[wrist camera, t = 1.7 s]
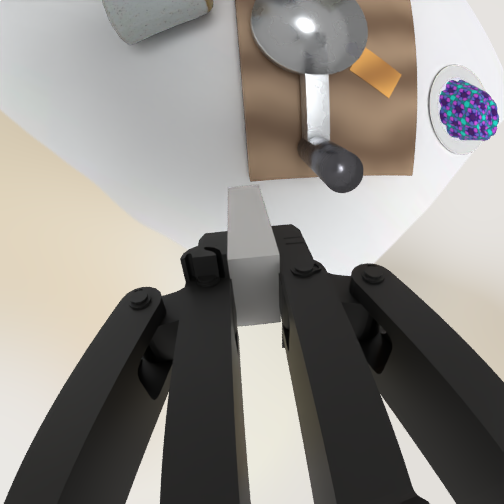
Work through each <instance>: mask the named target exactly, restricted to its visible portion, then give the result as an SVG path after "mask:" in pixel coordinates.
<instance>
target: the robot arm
mask: <svg viewBox="0 0 504 504" xmlns="http://www.w3.org/2000/svg"><path fill="white" fill-rule="evenodd" d="M180 260H181V264H182V268H183V272H184V277H185V280H186V284H185V287H184V288H183V289H181V290H179V291H177V292H174V293H171V294H168V295H165V296H161V293H160V292H159V291H158V290H157V289H156V288H152V287H141V288H137V289H134V290H133V291H131V292H129V293H127V294H126V296H124V297H123V298H122V300H121V301H120V302H119V304H118V305H117V307H116V308H115V309H114V311H113V312H112V314H111V315H110V316H109V318H108V319H107V321H106V322H105V324H104V325H103V326H102V328H101V329H100V331H99V332H98V334H97V335H96V337H95V338H94V340H93V341H92V343H91V344H90V346H89V347H88V349H87V350H86V352H85V353H84V355H83V356H82V358H81V359H80V361H79V362H78V364H77V366H76V367H75V369H74V370H73V372H72V373H71V375H70V377H69V378H68V380H67V382H66V383H65V385H64V386H63V388H62V390H61V391H60V394H59V395H58V397H57V398H56V400H55V402H54V403H53V405H52V407H51V409H50V410H49V412H48V414H47V416H46V417H45V419H44V421H43V423H42V425H41V426H40V428H39V430H38V432H37V434H36V436H35V438H34V440H33V441H32V443H31V445H30V447H29V450H28V451H27V453H26V455H25V457H24V460H23V461H22V464H21V466H20V468H19V470H18V472H17V474H16V477H15V479H14V481H13V483H12V486H11V488H10V490H9V492H8V495H7V497H6V500H5V502H4V504H125V503H126V500H127V498H128V495H129V492H130V489H131V487H132V484H133V481H134V479H135V476H136V473H137V471H138V468H139V466H140V463H141V460H142V458H143V455H144V453H145V450H146V448H147V445H148V442H149V440H150V437H151V434H152V432H153V429H154V427H155V424H156V422H157V420H158V417H159V414H160V412H161V410H162V407H163V405H164V402H165V400H166V397H167V395H168V392H169V397H168V405H167V415H166V424H165V435H164V447H163V459H162V474H161V492H160V504H251V502H250V491H249V478H248V466H247V454H246V440H245V427H244V413H243V398H242V383H241V367H240V352H239V336H238V330H237V326H248V325H257V324H267V323H276V322H281V319H282V348H285V349H286V354H287V360H288V365H289V370H290V375H291V380H292V385H293V390H294V396H295V401H296V406H297V411H298V416H299V422H300V427H301V433H302V438H303V443H304V449H305V454H306V460H307V465H308V471H309V476H310V482H311V488H312V493H313V499H314V504H429V502H428V501H426V500H425V499H423V498H421V497H419V496H418V495H417V494H416V493H415V491H414V490H413V487H412V484H411V481H410V478H409V475H408V471H407V468H406V465H405V462H404V459H403V456H402V453H401V450H400V447H399V444H398V441H397V439H396V436H395V433H394V430H393V428H392V425H391V422H390V419H389V416H388V414H387V411H386V408H385V406H384V403H383V401H382V398H381V395H382V397H383V398H384V400H385V401H386V403H387V404H388V405H389V407H390V408H391V410H392V411H393V412H394V414H395V415H396V416H397V418H398V419H399V421H400V422H401V423H402V425H403V426H404V428H405V429H406V431H407V432H408V434H409V435H410V436H411V438H412V439H413V441H414V442H415V444H416V445H417V446H418V448H419V449H420V451H421V452H422V454H423V455H424V457H425V458H426V459H427V461H428V462H429V464H430V465H431V467H432V468H433V470H434V471H435V473H436V474H437V475H438V477H439V478H440V480H441V481H442V483H443V484H444V486H445V487H446V489H447V490H448V492H449V493H450V495H451V496H452V498H453V499H454V501H455V502H456V504H504V382H503V381H502V380H501V379H500V378H499V377H498V375H497V374H496V373H495V372H494V371H493V370H492V369H491V368H490V367H489V366H488V365H487V363H486V362H485V361H484V360H483V359H482V358H481V357H480V356H479V355H478V354H477V353H476V352H475V351H474V350H473V349H472V348H471V347H470V346H469V345H468V344H467V343H466V342H465V341H464V340H463V339H462V338H461V337H460V336H459V335H458V334H457V333H456V332H455V331H454V330H453V329H452V328H451V327H450V326H449V325H448V324H447V323H446V322H445V321H444V320H443V319H442V318H441V317H440V316H439V315H438V314H437V313H436V312H435V311H434V310H433V309H431V308H430V307H429V306H428V305H427V304H426V303H425V302H424V301H423V300H422V299H420V298H419V297H418V296H417V295H416V294H415V293H414V292H413V291H412V290H411V289H409V288H408V287H407V286H406V285H405V284H404V283H403V282H402V281H401V280H399V279H398V278H397V277H396V276H395V275H394V274H392V273H391V272H390V271H389V270H387V269H386V268H384V267H382V266H379V265H376V264H361V265H359V266H357V267H355V268H354V269H353V271H352V274H351V276H342V275H334V274H330V273H327V271H326V269H325V267H324V266H323V265H322V264H321V263H319V262H317V261H315V260H313V257H312V255H311V253H310V251H309V249H308V247H307V244H306V243H305V240H304V238H303V236H302V234H301V232H300V230H299V229H298V228H296V227H295V226H294V225H292V224H289V225H278V226H271V224H270V221H269V217H268V214H267V211H266V207H265V204H264V201H263V197H262V194H261V191H260V188H259V185H249V186H239V187H229V188H228V231H225V232H215V233H205V234H204V235H203V236H202V238H201V239H200V240H199V243H198V246H196V247H194V248H191V249H189V250H188V251H186V252H185V253H184V254H183V255H182V257H181V259H180ZM380 394H381V395H380Z"/></svg>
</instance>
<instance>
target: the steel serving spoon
mask: <svg viewBox="0 0 504 504" xmlns="http://www.w3.org/2000/svg"><path fill="white" fill-rule="evenodd" d="M250 28H251V33H252V36H253V39H254V41H255V43H256V45H257V47H258V48H259V50H260V51H261V52H262V53H263V55H264V56H265V57H266V58H267V59H269V60H270V61H271V62H272V63H274V64H275V65H276V66H278V67H280V68H282V69H284V70H286V71H288V72H291V73H295V74H299V75H300V90H301V112H302V138H301V140H300V141H299V143H298V147H297V151H298V155H299V157H300V158H301V159H302V160H303V161H304V162H305V163H306V164H307V165H308V166H309V167H310V168H311V169H312V170H313V171H314V172H315V173H316V174H317V176H318V177H319V178H320V179H321V180H322V181H323V182H324V183H325V184H326V185H327V186H328V187H329V188H330V189H331V190H333V191H335V192H338V193H346V192H349V191H352V190H353V189H355V188H356V187H357V186H358V185H359V183H360V182H361V180H362V177H363V164H362V162H361V160H360V159H359V158H358V157H357V156H356V155H355V154H353V153H352V152H350V151H348V150H346V149H345V148H343V147H341V146H339V145H338V144H336V143H334V142H332V141H330V102H329V76H328V74H333V73H337V72H340V71H342V70H345V69H346V68H348V67H350V66H351V65H352V64H354V63H355V62H356V61H357V60H358V59H359V58H360V56H361V55H362V53H363V51H364V49H365V47H366V43H367V38H368V27H367V22H366V18H365V16H364V13H363V11H362V9H361V8H360V6H359V4H358V3H357V2H356V0H256V1H255V3H254V6H253V9H252V12H251V18H250Z"/></svg>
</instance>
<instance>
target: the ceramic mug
mask: <svg viewBox="0 0 504 504" xmlns="http://www.w3.org/2000/svg"><path fill="white" fill-rule="evenodd" d="M102 2H103V5H104V8H105V10H106V13H107V16H108V18H109V21H110V23H111V24H112V26H113V28H114V29H115V30H116V32H117V34H118V35H119V37H120V38H121V39H122V40H123V41H124V42H126V43H127V44H129V45H133V44H135V43H137V42H140V41H142V40H144V39H146V38H148V37H150V36H152V35H155V34H157V33H159V32H162V31H164V30H167V29H169V28H171V27H174V26H176V25H179V24H181V23H184V22H187V21H191V20H193V19H196V18H198V17H200V16H202V15H204V14H206V13H208V12H210V10H211V9H212V7H213V0H102Z"/></svg>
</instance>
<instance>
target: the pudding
mask: <svg viewBox="0 0 504 504" xmlns="http://www.w3.org/2000/svg"><path fill="white" fill-rule="evenodd" d="M452 78H461V79H464V80H465V81H467V82H465V81H463V80H459V81H458V82H456V81H454V80H451V81H449V82H448V83H447V84H446V90H444V91H442V92H441V94H440V91H441V89H442V87H443V85H444V84H445V83H446V82H447V81H448V80H450V79H452ZM439 94H440V100H439V102H440V104H441V110H440V117H439V112H438V99H439ZM430 116H431V121H432V124H433V127H434V130H435V133H436V135H437V137H438V138H439V140H440V141H441V143H442V144H443V145H444V146H445V147H446V148H447V149H448V150H449V151H451V152H453V153H455V154H459V155H465V154H469V153H472V152H473V151H475V150H476V149H477V148H478V147H479V146H480V145H481V143H482V142H483V141H485V140H488V139H490V137H491V136H492V135H494V134H495V133H496V130H497V124H498V122H499V115H498V113H497V106H496V103H495V102H494V100H493V99H491V97H490V95H489V94H488V93H486V91H485V89H484V87H483V85H482V83H481V81H480V80H479V79H478V77H477V76H476V75H475V74H474V73H473V72H472V71H471V70H469V69H468V68H466V67H463V66H461V65H450V66H448V67H445V68H444V69H443V70H441V71H440V72H439V74H438V75H437V76H436V78H435V80H434V82H433V85H432V88H431V93H430ZM440 119H441V121H442V123H443V124H445V125H446V127H447V132H448V133H449V135H450V136H452V137H459V139H460V140H464V141H458V140H455V139H453V138H452V137H450V136H449V135H448V134H447V133H446V131H445V129H444V128H443V126H442V124H441V121H440Z"/></svg>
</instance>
